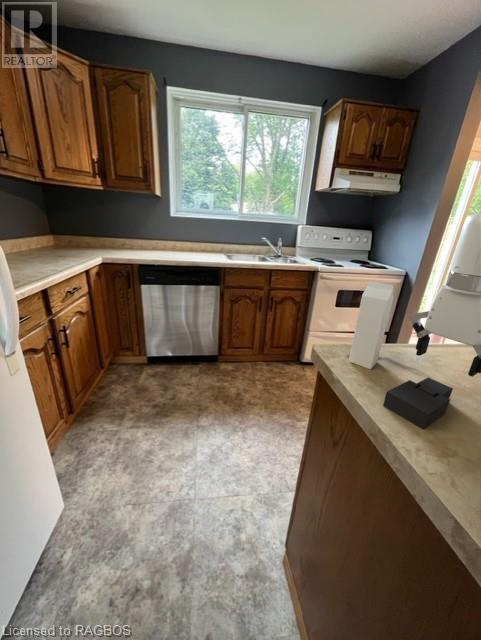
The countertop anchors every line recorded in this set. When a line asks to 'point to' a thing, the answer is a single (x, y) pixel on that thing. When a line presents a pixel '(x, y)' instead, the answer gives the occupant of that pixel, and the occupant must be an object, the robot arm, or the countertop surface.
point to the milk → (371, 324)
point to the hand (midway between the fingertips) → (445, 363)
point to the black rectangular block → (434, 388)
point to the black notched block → (415, 404)
